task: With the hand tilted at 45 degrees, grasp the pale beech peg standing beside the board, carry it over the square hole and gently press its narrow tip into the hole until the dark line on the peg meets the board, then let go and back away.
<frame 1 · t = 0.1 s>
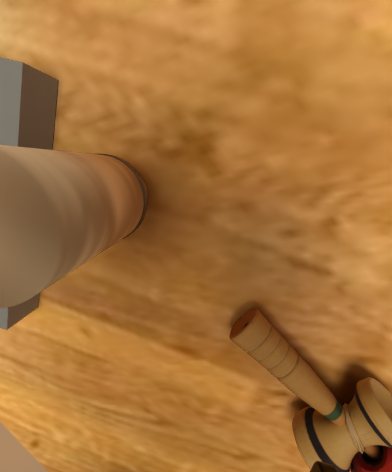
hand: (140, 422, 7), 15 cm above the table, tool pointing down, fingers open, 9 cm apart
kendama: (319, 382, 23), on the table
peg: (122, 194, 21), on the table
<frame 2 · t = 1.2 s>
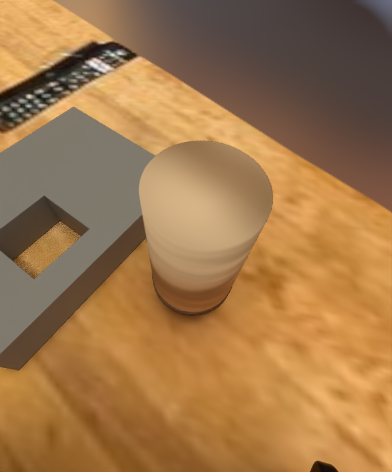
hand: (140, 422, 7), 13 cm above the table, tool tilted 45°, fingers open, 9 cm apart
board: (58, 226, 24), on the table
peg: (190, 289, 22), on the table
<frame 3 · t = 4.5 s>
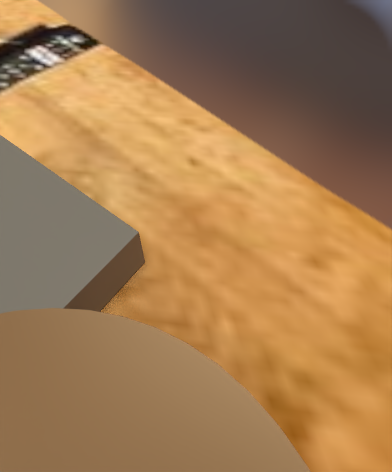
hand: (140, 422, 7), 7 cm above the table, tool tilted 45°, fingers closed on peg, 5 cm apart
peg: (145, 447, 12), on the table, touching gripper
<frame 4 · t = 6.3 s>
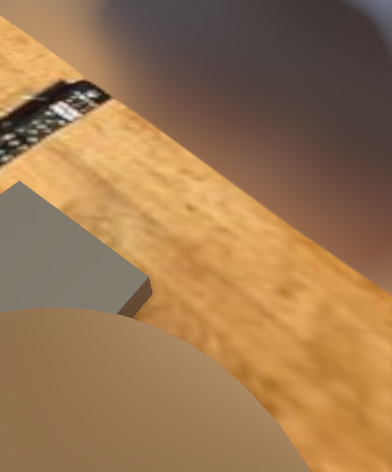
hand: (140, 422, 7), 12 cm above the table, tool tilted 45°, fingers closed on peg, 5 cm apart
peg: (145, 447, 12), point 6 cm above the table, touching gripper
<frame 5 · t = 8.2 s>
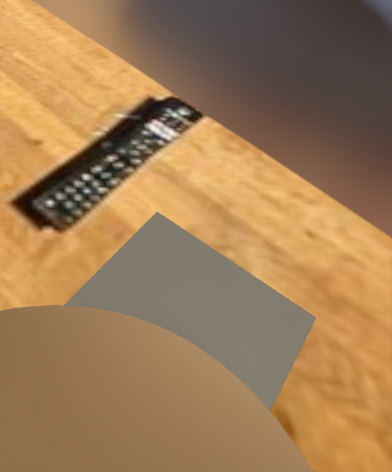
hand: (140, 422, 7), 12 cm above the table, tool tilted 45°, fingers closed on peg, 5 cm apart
board: (148, 381, 19), on the table
peg: (145, 446, 12), point 6 cm above the table, touching gripper
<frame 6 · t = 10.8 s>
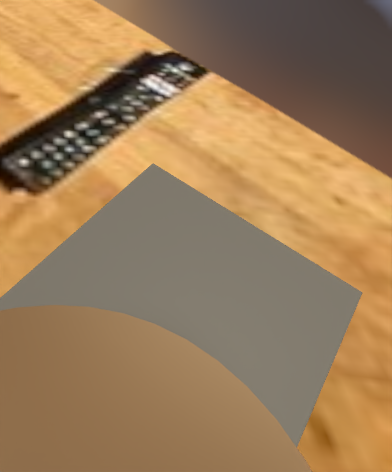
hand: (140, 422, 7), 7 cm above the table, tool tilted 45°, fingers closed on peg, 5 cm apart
board: (140, 377, 14), on the table
peg: (145, 446, 12), point 1 cm above the table, touching gripper
when the fingers open (7 cm above the table, at t = 10.9 s): peg stays where it is, resting on board.
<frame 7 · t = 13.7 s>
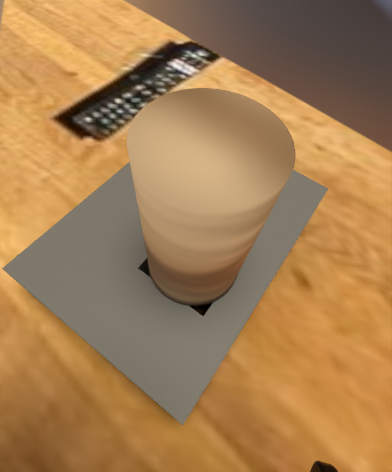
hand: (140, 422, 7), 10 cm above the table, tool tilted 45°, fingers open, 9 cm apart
board: (184, 247, 22), on the table
peg: (190, 279, 20), resting on board
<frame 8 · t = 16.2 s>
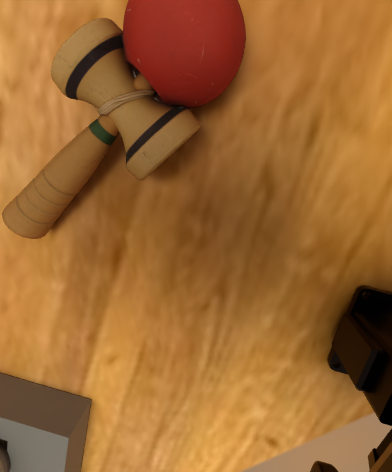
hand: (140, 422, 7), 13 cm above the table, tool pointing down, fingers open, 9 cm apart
kendama: (125, 135, 19), on the table
peg: (7, 422, 25), resting on board
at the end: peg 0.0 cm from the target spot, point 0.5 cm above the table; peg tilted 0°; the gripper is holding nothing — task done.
